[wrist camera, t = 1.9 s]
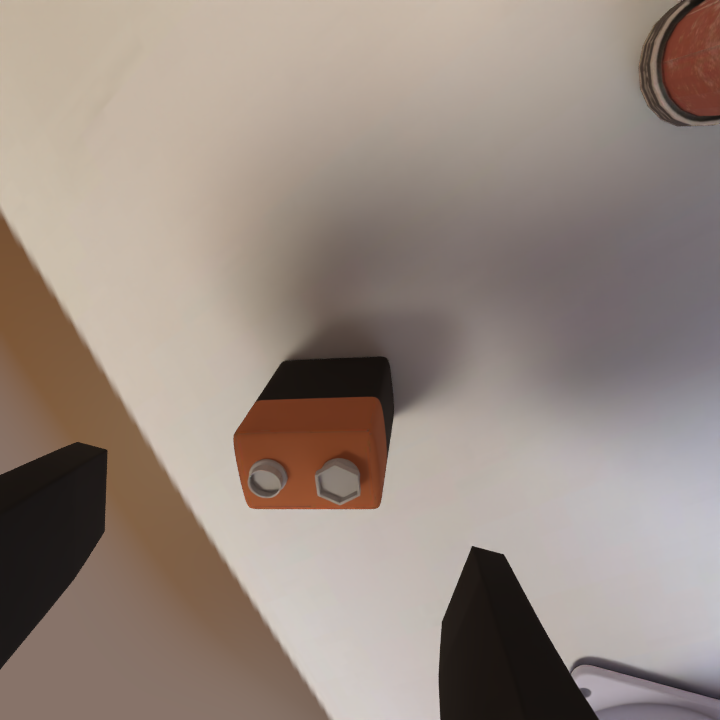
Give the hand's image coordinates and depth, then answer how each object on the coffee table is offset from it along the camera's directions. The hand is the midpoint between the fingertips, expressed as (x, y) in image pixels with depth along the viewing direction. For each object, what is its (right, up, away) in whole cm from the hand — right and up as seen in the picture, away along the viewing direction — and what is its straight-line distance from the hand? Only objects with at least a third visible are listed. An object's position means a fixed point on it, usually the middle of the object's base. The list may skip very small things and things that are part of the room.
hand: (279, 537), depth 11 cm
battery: (+1, +3, +6) cm, 7 cm away
